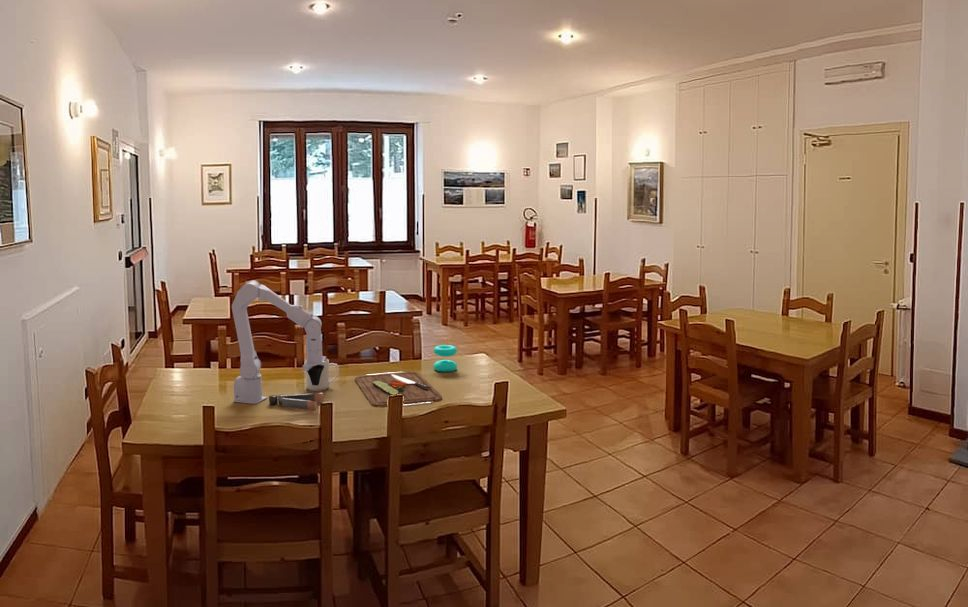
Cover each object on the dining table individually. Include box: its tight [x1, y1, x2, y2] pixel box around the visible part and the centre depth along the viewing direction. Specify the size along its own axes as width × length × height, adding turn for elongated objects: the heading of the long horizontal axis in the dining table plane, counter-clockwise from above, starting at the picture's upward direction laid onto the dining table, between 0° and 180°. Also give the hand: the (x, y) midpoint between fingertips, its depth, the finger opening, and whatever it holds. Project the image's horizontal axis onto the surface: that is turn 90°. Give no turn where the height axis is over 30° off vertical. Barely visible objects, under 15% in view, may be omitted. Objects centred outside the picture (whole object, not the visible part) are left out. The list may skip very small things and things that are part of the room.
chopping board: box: [354, 371, 443, 407], centre depth 294 cm, size 45×27×3 cm, turn 20°
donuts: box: [433, 344, 458, 373], centre depth 322 cm, size 10×10×10 cm
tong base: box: [268, 394, 317, 411], centre depth 270 cm, size 19×3×3 cm, turn 74°
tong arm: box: [277, 392, 324, 406], centre depth 274 cm, size 16×3×3 cm, turn 104°
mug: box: [304, 358, 338, 392], centre depth 292 cm, size 12×9×11 cm
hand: (315, 384), depth 279 cm, fingers closed
